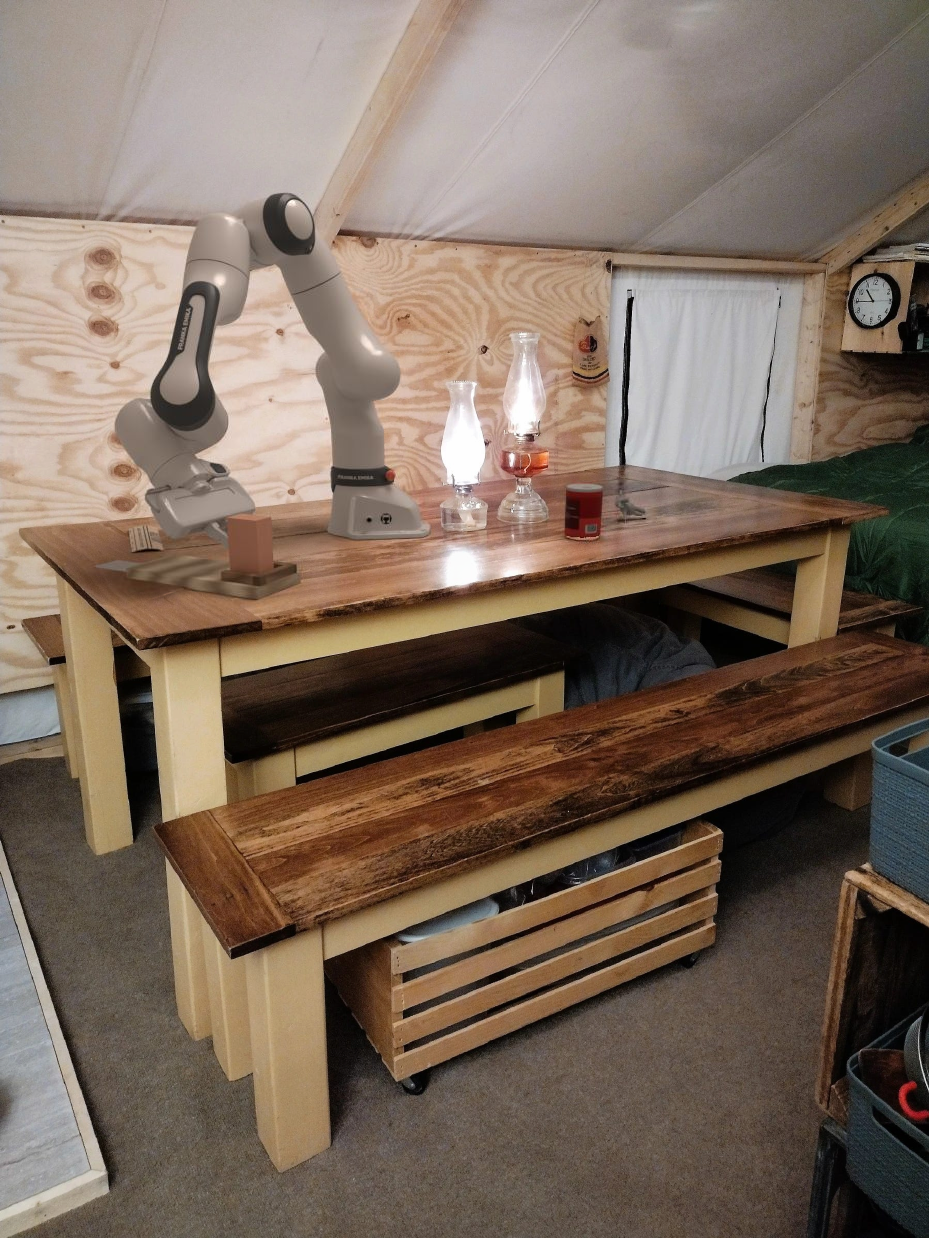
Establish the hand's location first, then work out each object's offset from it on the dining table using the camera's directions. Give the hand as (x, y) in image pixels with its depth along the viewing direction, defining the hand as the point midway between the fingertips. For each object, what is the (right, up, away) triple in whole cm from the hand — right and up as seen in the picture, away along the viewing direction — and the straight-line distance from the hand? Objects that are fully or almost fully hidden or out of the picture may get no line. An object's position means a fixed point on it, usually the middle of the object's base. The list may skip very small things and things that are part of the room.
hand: (233, 545), depth 156 cm
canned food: (+64, +5, +43) cm, 77 cm away
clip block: (+3, -5, 0) cm, 6 cm away
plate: (-23, -3, +12) cm, 27 cm away
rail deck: (-4, -6, +4) cm, 8 cm away
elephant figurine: (+78, +11, +63) cm, 100 cm away
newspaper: (-26, +3, +34) cm, 43 cm away
